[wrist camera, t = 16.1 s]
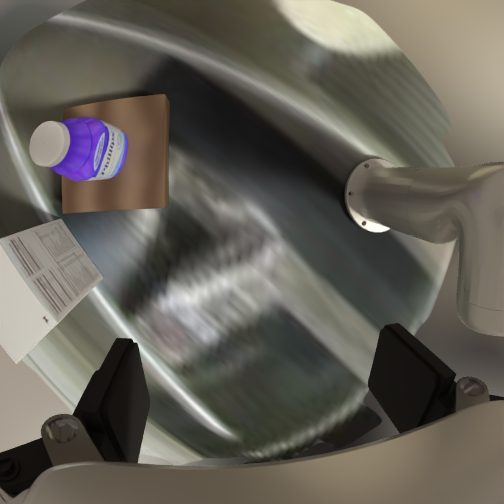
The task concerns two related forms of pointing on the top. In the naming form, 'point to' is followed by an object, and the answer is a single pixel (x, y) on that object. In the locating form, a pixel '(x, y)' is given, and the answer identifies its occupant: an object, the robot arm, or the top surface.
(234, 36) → the top surface
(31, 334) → the supplement box
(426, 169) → the robot arm
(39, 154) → the bottle
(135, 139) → the plinth
